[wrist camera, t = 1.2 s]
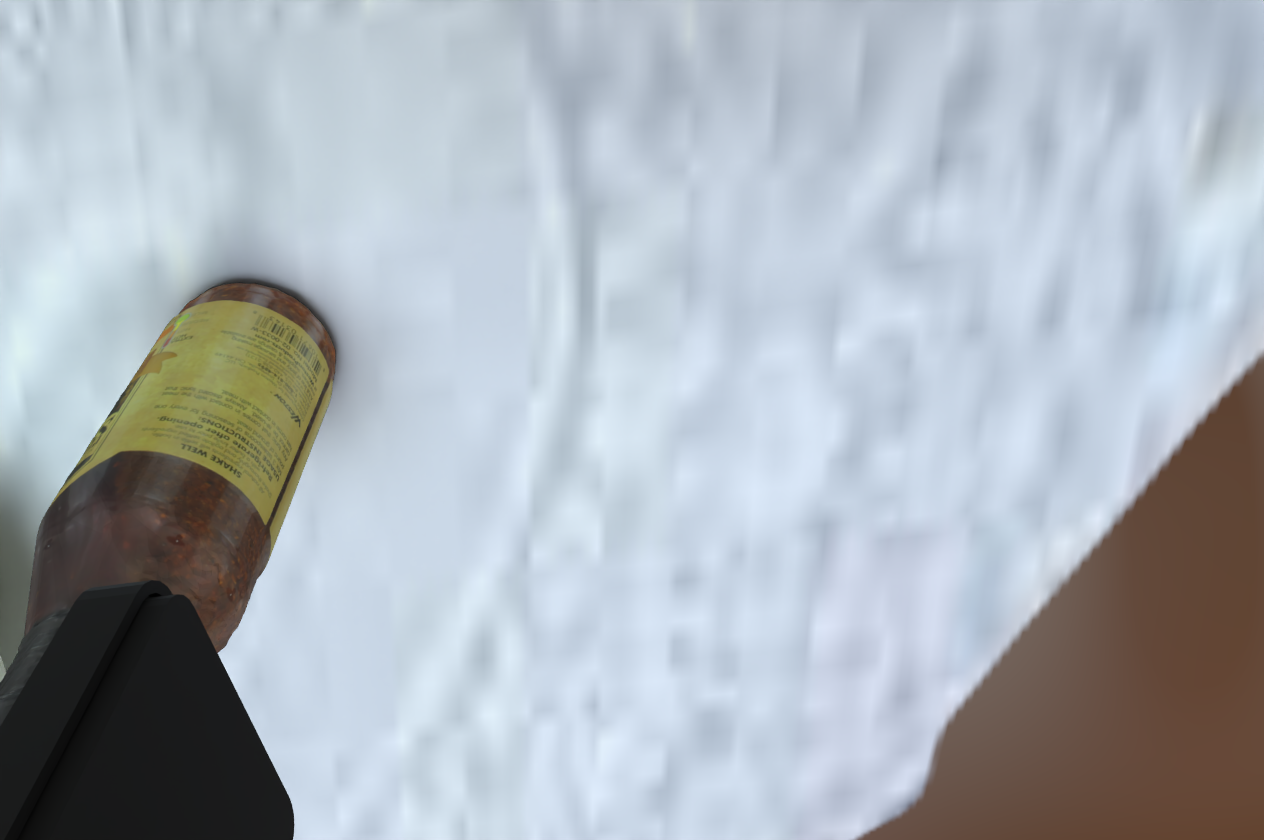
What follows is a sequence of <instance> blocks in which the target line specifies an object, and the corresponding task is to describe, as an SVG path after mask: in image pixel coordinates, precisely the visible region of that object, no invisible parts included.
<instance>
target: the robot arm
mask: <svg viewBox="0 0 1264 840" xmlns="http://www.w3.org/2000/svg"><path fill="white" fill-rule="evenodd" d="M293 836H294V813H293V808H292V804H291V801H290V798H289V796H288V794H287V792H286V790H285V788H284V786H283V784H282V782H281V780H280V778H279V776H278V774H277V772H276V770H275V768H274V766H273V764H272V762H271V760H270V758H269V756H268V754H267V752H266V750H265V748H264V746H263V744H262V742H261V740H260V738H259V736H258V734H257V732H256V730H255V728H254V726H253V724H252V722H251V720H250V718H249V716H248V714H247V712H246V710H245V708H244V706H243V704H242V702H241V700H240V698H239V696H238V694H237V692H236V690H235V688H234V686H233V684H232V682H231V680H230V678H229V676H228V674H227V672H226V670H225V668H224V666H223V664H222V662H221V660H220V658H219V656H218V654H217V652H216V650H215V648H214V645H213V643H212V641H211V639H210V637H209V635H208V633H207V631H206V629H205V627H204V625H203V623H202V621H201V619H200V617H199V615H198V613H197V611H196V609H195V607H194V606H193V604H192V603H191V601H190V600H189V599H188V598H187V597H186V596H184V595H180V594H176V595H173V594H172V592H171V591H170V589H169V588H168V586H166V585H165V584H163V583H162V582H161V581H156V580H148V581H140V582H132V583H124V584H116V585H108V586H101V587H93V588H90V589H88V590H86V591H84V592H82V594H81V595H80V596H79V597H78V598H77V599H76V601H75V602H74V604H73V606H72V607H71V609H70V611H69V612H68V614H67V616H66V617H65V619H64V621H63V622H62V624H61V626H60V627H59V629H58V631H57V632H56V634H55V636H54V637H53V639H52V641H51V642H50V644H49V646H48V647H47V649H46V651H45V652H44V654H43V656H42V657H41V659H40V661H39V662H38V664H37V666H36V667H35V669H34V671H33V672H32V674H31V676H30V677H29V679H28V681H27V682H26V684H25V686H24V687H23V689H22V691H21V692H20V694H19V696H18V697H17V699H16V701H15V702H14V704H13V706H12V707H11V709H10V711H9V713H8V714H7V716H6V718H5V719H4V721H3V723H2V724H1V726H0V840H293Z"/></svg>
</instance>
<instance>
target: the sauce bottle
mask: <svg viewBox="0 0 1264 840" xmlns="http://www.w3.org/2000/svg"><path fill="white" fill-rule="evenodd" d="M334 374H335V349H334V346H333V344H332V341H331V338H330V336H329V334H328V332H327V331H326V329H325V328H324V327H323V325H322V323H321V322H320V321H319V320H317V319H316V318H315V316H314V315H313V314H312V313H311V311H310V310H309V309H308V308H307V307H306V306H305V305H304V304H302V303H300V302H299V301H298V300H296V299H295V298H294V297H292V296H289V295H287V294H285V293H283V292H282V291H280V290H278V289H276V288H271V287H265V286H263V285H258V284H256V283H252V284H243V283H233V284H225V285H220V286H218V287H214V288H211V289H209V290H207V291H205V292H204V293H203V294H201V295H200V296H199V297H197V298H196V299H194V300H192V301H190V302H189V303H188V304H187V305H186V306H185V307H184V308H183V310H182V311H181V312H180V313H179V315H177V316H176V317H174V318H173V319H172V320H171V321H170V322H169V323H168V325H167V326H166V327H165V329H164V331H163V332H162V334H161V335H160V337H159V338H158V340H157V342H156V343H155V345H154V346H153V348H152V349H151V351H150V352H149V354H148V355H147V357H146V359H145V360H144V362H143V363H142V365H141V366H140V368H139V370H138V371H137V373H136V374H135V376H134V377H133V379H132V380H131V382H130V383H129V385H128V386H127V388H126V389H125V391H124V392H123V394H122V395H121V396H120V398H119V400H118V401H117V402H116V404H115V406H114V408H113V409H112V411H111V412H110V414H109V415H108V417H107V419H106V420H105V422H104V423H103V424H102V426H101V427H100V429H99V430H98V432H97V434H96V435H95V437H94V438H93V439H92V441H91V442H90V444H89V446H88V447H87V449H86V451H85V452H84V454H83V456H82V457H81V459H80V461H79V462H78V464H77V465H76V467H75V468H74V470H73V471H72V472H71V474H70V475H69V476H68V478H67V480H66V482H65V483H64V485H63V487H62V488H61V489H60V491H59V493H58V494H57V496H56V498H55V499H54V501H53V502H52V504H51V505H50V507H49V509H48V510H47V512H46V514H45V516H44V517H43V519H42V522H41V524H40V527H39V530H38V534H37V540H36V547H35V555H34V563H33V571H32V578H31V586H30V594H29V601H28V609H27V617H26V625H25V635H24V638H23V639H22V641H21V644H20V646H19V650H18V654H17V655H16V657H15V659H14V661H13V663H12V664H11V665H10V667H9V669H8V670H7V672H6V674H5V676H4V678H3V680H2V681H1V682H0V726H1V724H2V723H3V721H4V719H5V718H6V716H7V714H8V713H9V711H10V709H11V707H12V706H13V704H14V702H15V701H16V699H17V697H18V696H19V694H20V692H21V691H22V689H23V687H24V686H25V684H26V682H27V681H28V679H29V677H30V676H31V674H32V672H33V671H34V669H35V667H36V666H37V664H38V662H39V661H40V659H41V657H42V656H43V654H44V652H45V651H46V649H47V647H48V646H49V644H50V642H51V641H52V639H53V637H54V636H55V634H56V632H57V631H58V629H59V627H60V626H61V624H62V622H63V621H64V619H65V617H66V616H67V614H68V612H69V611H70V609H71V607H72V606H73V604H74V602H75V601H76V599H77V598H78V597H79V596H80V595H81V594H82V592H84V591H86V590H88V589H90V588H93V587H101V586H108V585H116V584H124V583H132V582H140V581H148V580H156V581H161V582H162V583H163V584H165V585H166V586H168V588H169V589H170V591H171V592H172V594H173V595H176V594H180V595H184V596H186V597H187V598H188V599H189V600H190V601H191V603H192V604H193V606H194V607H195V609H196V611H197V613H198V615H199V617H200V619H201V621H202V623H203V625H204V627H205V629H206V631H207V633H208V635H209V637H210V639H211V641H212V643H213V645H214V648H215V650H216V652H217V653H218V652H219V651H220V650H222V649H223V648H224V647H225V646H226V645H227V642H228V640H229V638H230V637H231V635H232V633H233V632H234V631H235V630H236V629H237V627H238V625H239V623H240V621H241V619H242V616H243V614H244V612H245V609H246V607H247V604H248V601H249V599H250V596H251V593H252V591H253V588H254V586H255V583H256V580H257V578H258V577H259V576H260V575H261V574H262V572H263V571H264V569H265V567H266V565H267V563H268V561H269V558H270V556H271V553H272V550H273V548H274V545H275V542H276V540H277V537H278V534H279V532H280V529H281V527H282V524H283V522H284V519H285V516H286V514H287V511H288V509H289V506H290V504H291V501H292V498H293V496H294V493H295V490H296V488H297V485H298V483H299V480H300V477H301V475H302V472H303V469H304V467H305V464H306V462H307V459H308V457H309V454H310V451H311V449H312V446H313V444H314V441H315V439H316V436H317V433H318V431H319V428H320V426H321V423H322V421H323V418H324V415H325V413H326V410H327V408H328V405H329V402H330V398H331V395H332V384H333V380H334Z"/></svg>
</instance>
